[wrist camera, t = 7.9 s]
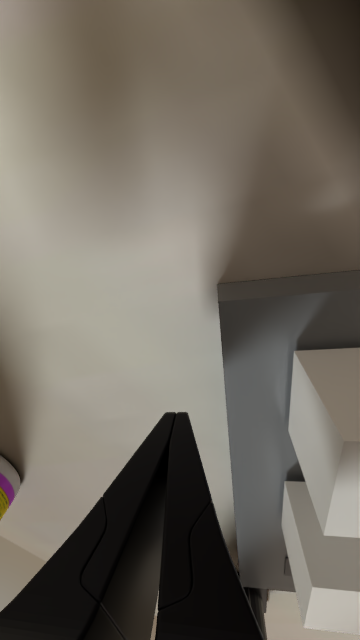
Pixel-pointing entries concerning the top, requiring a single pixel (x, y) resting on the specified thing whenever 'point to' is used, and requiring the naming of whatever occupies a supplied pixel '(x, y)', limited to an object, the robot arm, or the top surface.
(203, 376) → the top surface
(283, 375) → the switch bank
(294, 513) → the tab middle
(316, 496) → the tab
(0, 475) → the supplement bottle
